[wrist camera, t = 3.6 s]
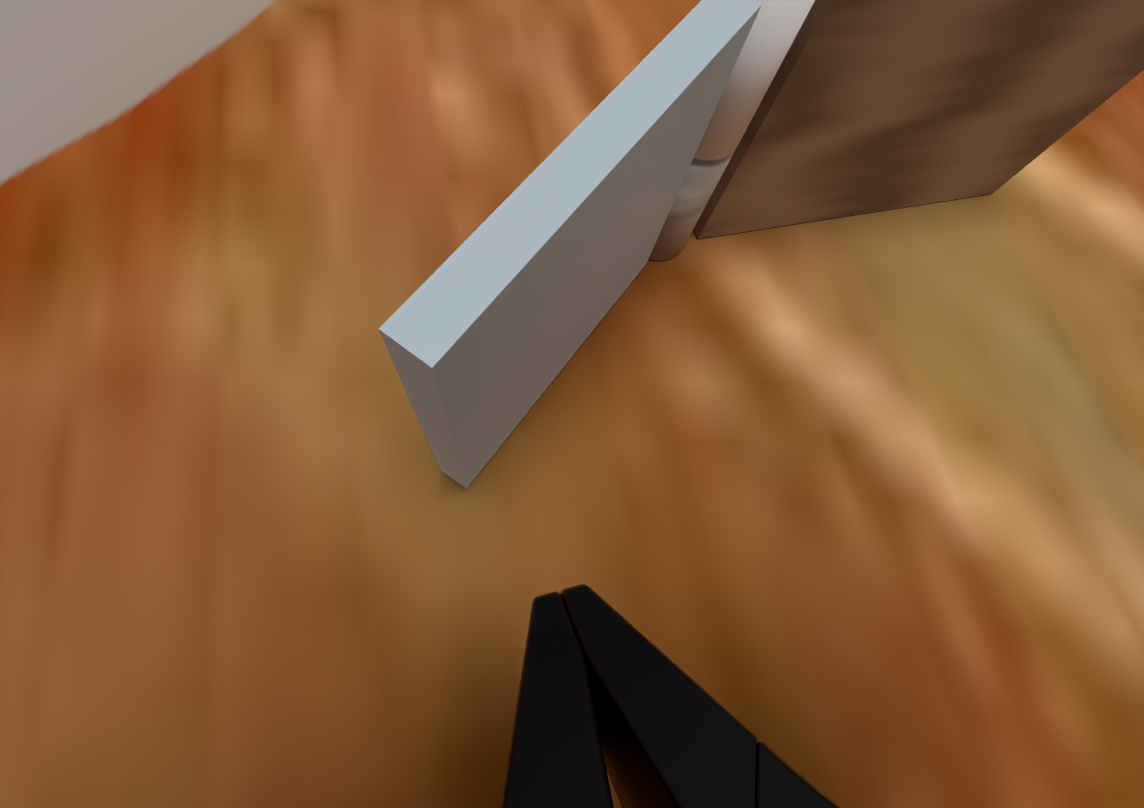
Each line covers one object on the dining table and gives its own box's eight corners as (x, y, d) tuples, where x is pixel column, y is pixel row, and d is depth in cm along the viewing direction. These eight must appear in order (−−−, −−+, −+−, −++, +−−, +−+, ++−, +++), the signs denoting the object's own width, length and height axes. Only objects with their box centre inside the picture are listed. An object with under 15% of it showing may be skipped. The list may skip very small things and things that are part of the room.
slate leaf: (648, 192, 22) (755, -97, 13) (699, 226, 22) (846, -44, 13) (422, 456, 17) (341, 302, 8) (484, 503, 17) (470, 395, 8)
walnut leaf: (634, 265, 21) (745, -2, 12) (617, 212, 22) (708, -81, 12) (999, 207, 24) (1313, -38, 15) (973, 162, 25) (1258, -98, 16)
